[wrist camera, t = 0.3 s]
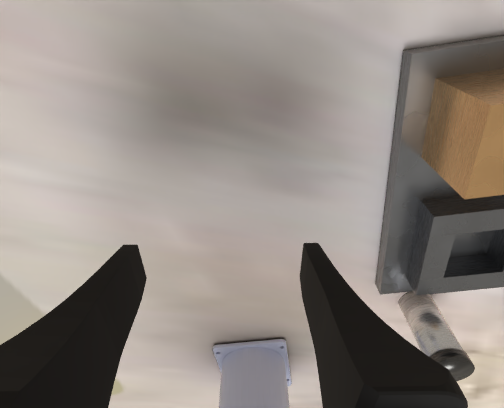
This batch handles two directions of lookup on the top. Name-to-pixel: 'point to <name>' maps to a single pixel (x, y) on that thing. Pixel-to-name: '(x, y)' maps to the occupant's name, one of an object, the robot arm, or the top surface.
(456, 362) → the shiny metal cylinder
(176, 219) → the top surface
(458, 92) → the square socket plate
